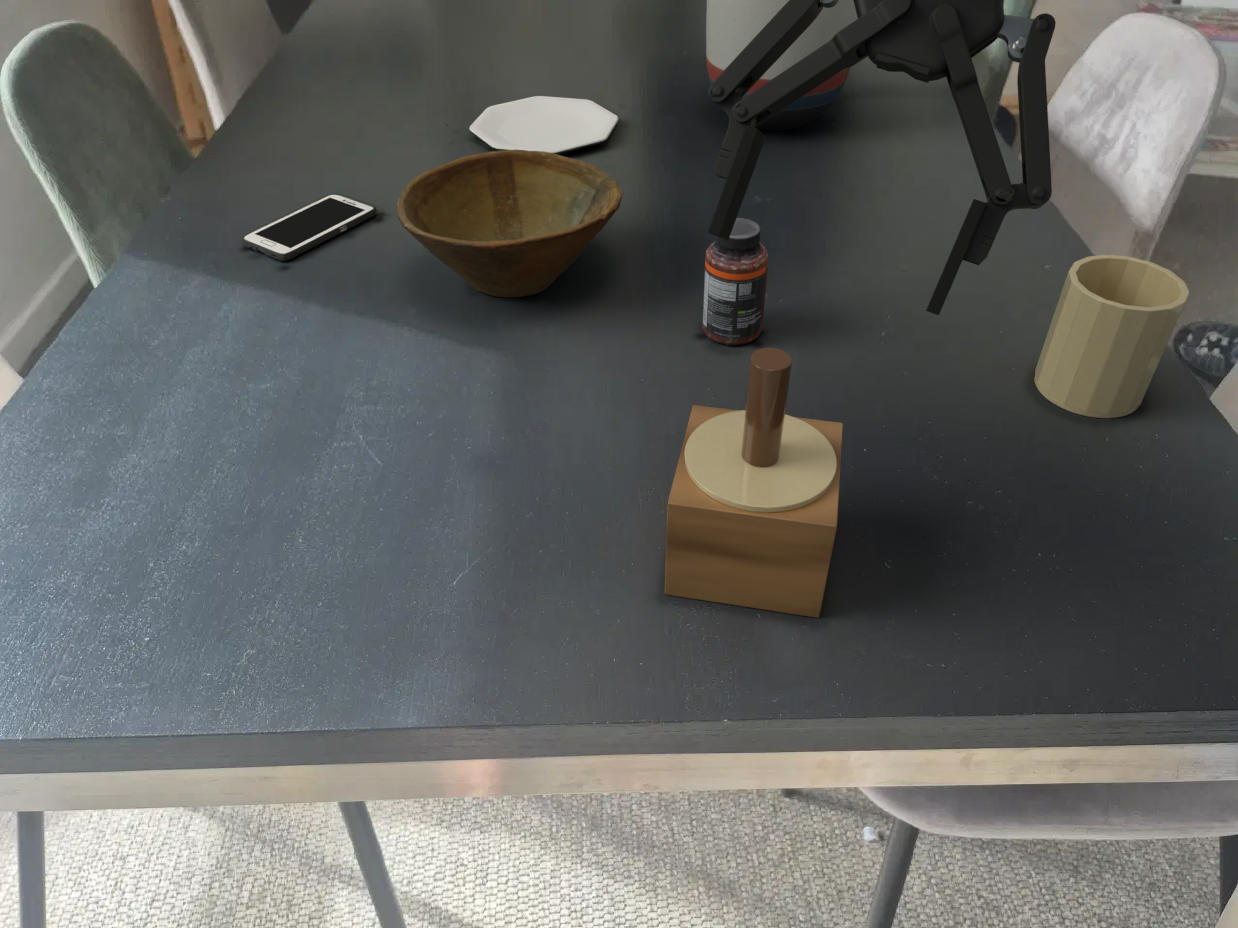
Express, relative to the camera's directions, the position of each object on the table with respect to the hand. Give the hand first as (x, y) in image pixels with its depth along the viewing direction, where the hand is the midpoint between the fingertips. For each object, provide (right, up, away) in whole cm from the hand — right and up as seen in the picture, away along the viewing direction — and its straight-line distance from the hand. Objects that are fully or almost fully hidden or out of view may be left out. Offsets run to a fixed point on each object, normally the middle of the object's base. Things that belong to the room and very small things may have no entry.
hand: (821, 274), depth 57 cm
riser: (-2, -18, +14) cm, 23 cm away
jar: (+31, -4, +30) cm, 43 cm away
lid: (-2, -11, +9) cm, 14 cm away
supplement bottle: (-1, +2, +38) cm, 38 cm away
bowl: (-23, +9, +46) cm, 52 cm away
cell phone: (-48, +16, +55) cm, 75 cm away
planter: (+10, +38, +79) cm, 88 cm away
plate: (-23, +35, +77) cm, 88 cm away
